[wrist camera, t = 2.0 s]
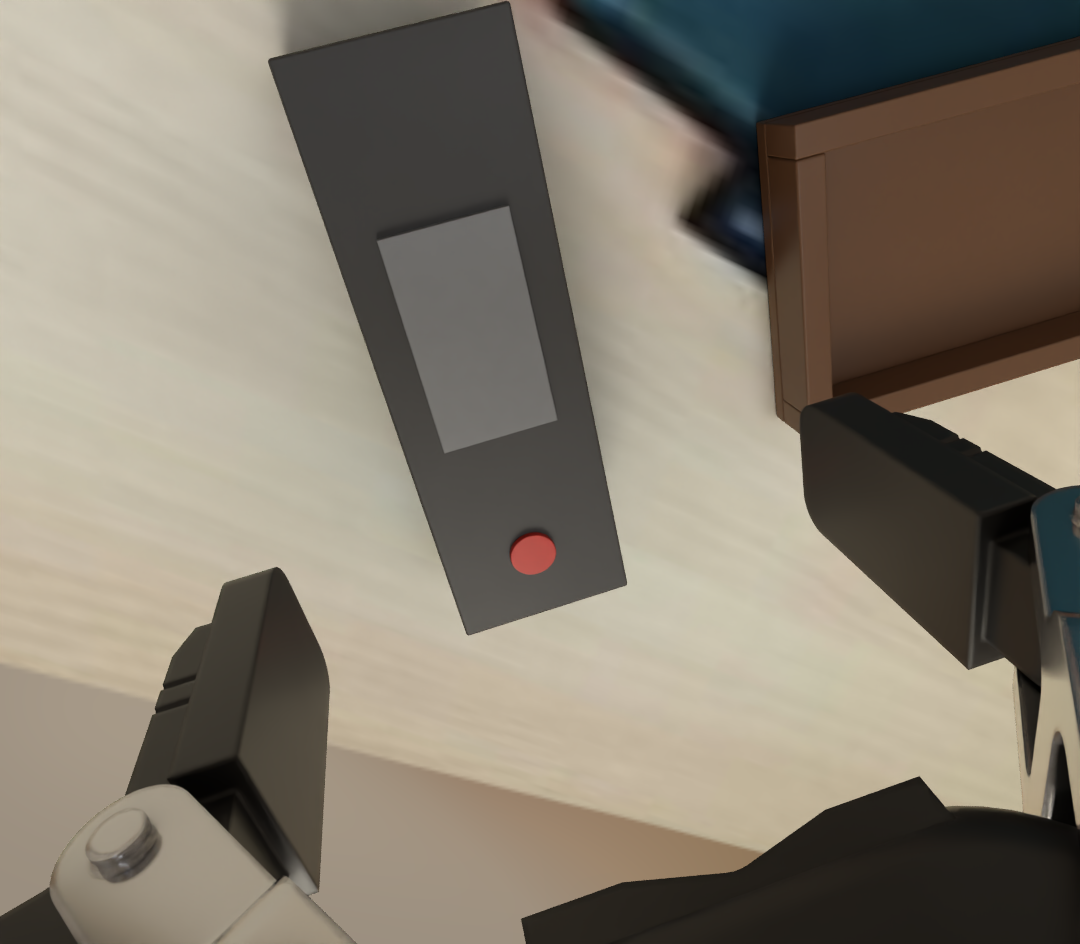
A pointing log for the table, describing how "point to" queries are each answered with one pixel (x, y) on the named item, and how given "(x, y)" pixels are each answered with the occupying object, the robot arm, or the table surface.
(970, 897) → the robot arm
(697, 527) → the table surface
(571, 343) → the remote
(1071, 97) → the tray
